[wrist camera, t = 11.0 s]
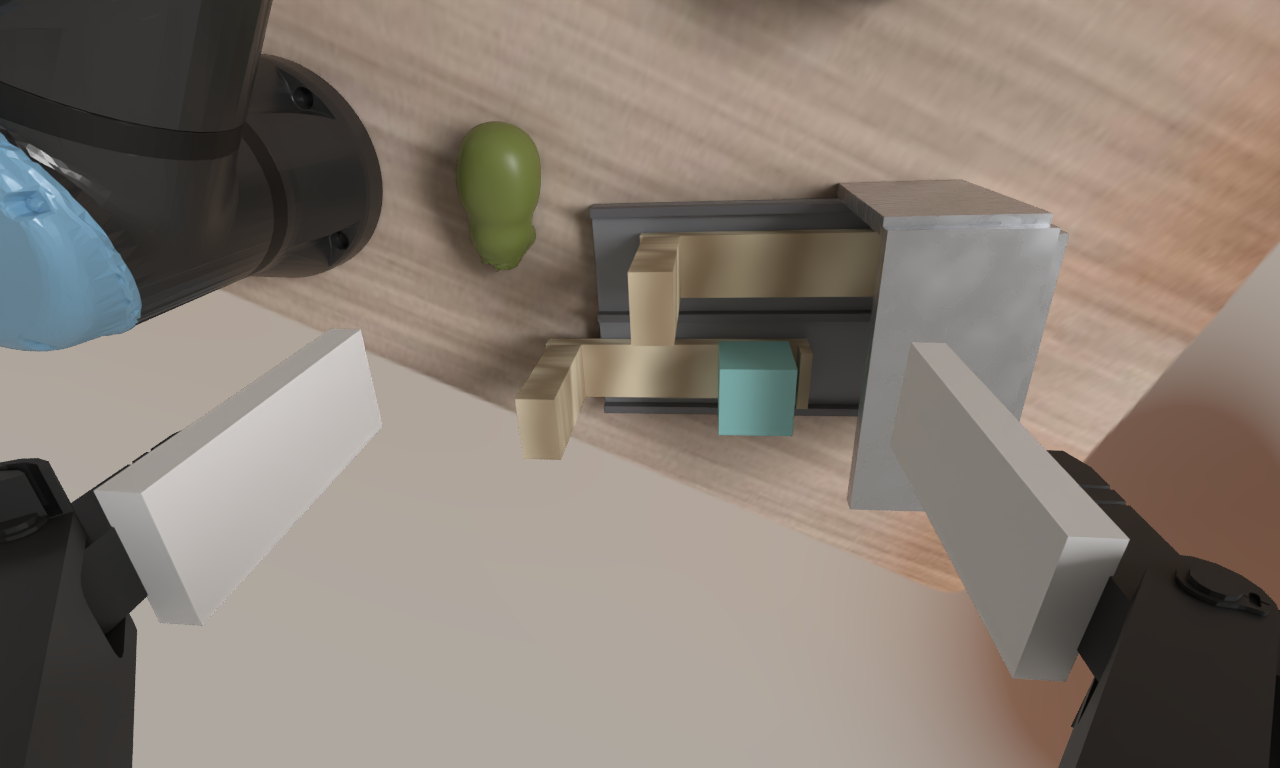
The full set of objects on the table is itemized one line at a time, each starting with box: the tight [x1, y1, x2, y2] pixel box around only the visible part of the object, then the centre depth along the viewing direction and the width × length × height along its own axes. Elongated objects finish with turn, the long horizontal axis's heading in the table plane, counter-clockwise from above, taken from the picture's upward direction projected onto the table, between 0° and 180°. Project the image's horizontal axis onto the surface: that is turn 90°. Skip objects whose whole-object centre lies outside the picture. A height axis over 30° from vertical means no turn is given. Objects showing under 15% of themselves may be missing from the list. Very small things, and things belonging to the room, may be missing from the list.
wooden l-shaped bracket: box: [515, 339, 813, 460], centre depth 43 cm, size 20×4×10 cm, turn 92°
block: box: [718, 341, 797, 436], centre depth 43 cm, size 5×5×5 cm
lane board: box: [589, 198, 873, 416], centre depth 45 cm, size 24×16×2 cm, turn 92°
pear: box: [456, 121, 541, 272], centre depth 42 cm, size 6×5×10 cm
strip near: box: [628, 229, 881, 346], centre depth 38 cm, size 20×4×10 cm, turn 92°
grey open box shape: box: [837, 180, 1069, 511], centre depth 39 cm, size 9×18×13 cm, turn 2°
